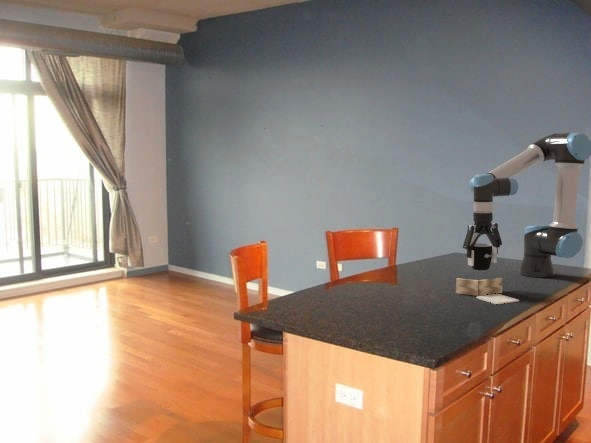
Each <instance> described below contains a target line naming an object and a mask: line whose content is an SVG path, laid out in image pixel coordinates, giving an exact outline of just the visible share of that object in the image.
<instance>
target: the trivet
mask: <svg viewBox="0 0 591 443" xmlns="http://www.w3.org/2000/svg"><path fill="white" fill-rule="evenodd" d="M476 299H478V300H481V301H485V302H487V303H490V302H491V304H493V305H496V304H498V305H504V303H505V304H510V303H511V304H512V303H516V302H520V300H519V299H518V298H514V297H510V296H507V295H503V294H502V293H496V294H488V295H481V296H476Z"/></svg>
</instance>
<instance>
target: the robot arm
mask: <svg viewBox="0 0 591 443" xmlns="http://www.w3.org/2000/svg"><path fill="white" fill-rule="evenodd" d="M590 156H591V139H590V138H589V136H588V135H586V134H585V133H582V132H576V131H575V132H574V131H573V132H564V133H563V132H561V133H558V132H557V133H551V134H548V135H546V136H544V137H542V138H540V139H537V140H536V141H534V142H533V143H531V144H529V145H528V147H527V148H526V149H525V150H524V151H522V152H520V153H518V154H517V155H515V156H514V157H512V158H510V159H508V160H507V161H505V162H503V163H502V164H500V165H499V166H497V167H495V168H493V169H492V170H490V171H488V172H487V173H481V174H479V173H478V174H475V175H474V176H473V177H472V178H471V179H470V180H469V184H468V186H469V191H470V192H472V193H473V211H474V212H473V213H472V214H473V222H474V223H473V225H472V224H469V225H467V231H466V236H465V238H464V242H463V245H462V248H463V249H464V250H466V258H467V266H471V267H472V266H474V250H472V249H473V247H474V245H475V243H478V242H477V241H478V240H479V238H480V237H481V236H483V235H486V237H487V238H488V240H489V241H490V244H492V259H491V263H494V264H497V262H498V255H499V248H501V246H502V245H503V242H502V237H501V235H500V232H499V224H498V223H497V222H493V219H494V218H493V216H494V214H493V210H494V208H493V207H494V206H493V204H494V197H509V196H514V195H516V194H517V193H518V191H519V183H518V181H517V179H515V177H516V176H518V175H519V174H521V173H523V172H525V171H527V170H528V169H530V168H531V167H533V166H534V165H540V164H543V163H544V162H547V161H554V164H555V166H556V167H557V175H556V188H555V197H554V205H553V215H552V216H553V217H552V222H551V223H550V224H539V225H538V224H537V225H527V226H525V228H524V233H523V235H524V237H523V258H522V261H521V264H520V267H519V269H518V270H519V271H518V273H519V275H520V276H521V275H522V276H525V277H532V278H552V277H555V269H554V266H553V262H552V256H554V257H559V258H566V259H571V258H574V257H575V256H577V255H578V254H579V253H580V251H581V250H582V247H583V242H584V241H583V237H582V235H581V234H580V233H578V230H579V228H578V226H577V225H576V223H575V219H576V209H577V199H578V191H579V190H578V189H579V179H580V169H581V168H582V167H583V166H584V165H585V161H586V160H587V159H589V158H590Z"/></svg>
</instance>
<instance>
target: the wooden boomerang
mask: <svg viewBox="0 0 591 443" xmlns="http://www.w3.org/2000/svg"><path fill="white" fill-rule="evenodd" d="M503 286H504V285H503V277H495V278H485V279H479V280H478V279H470V278H469V279H468V278H459V277H457V278H456V281H455V294H459V295H468V296H469V295H470V296H476V297H477V296H484V295H487V294H488V295H492V294H495V293H496V294H502V293H503Z"/></svg>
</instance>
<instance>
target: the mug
mask: <svg viewBox="0 0 591 443" xmlns="http://www.w3.org/2000/svg"><path fill="white" fill-rule="evenodd" d="M492 247H493V245H492V244H491V243H486V242H476V243H475V245H474V247H473V249H472V250H474V266H471V268H472V270H475V271H488V270H489V269H490V268H491V264H492V262H491V259H492Z"/></svg>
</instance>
